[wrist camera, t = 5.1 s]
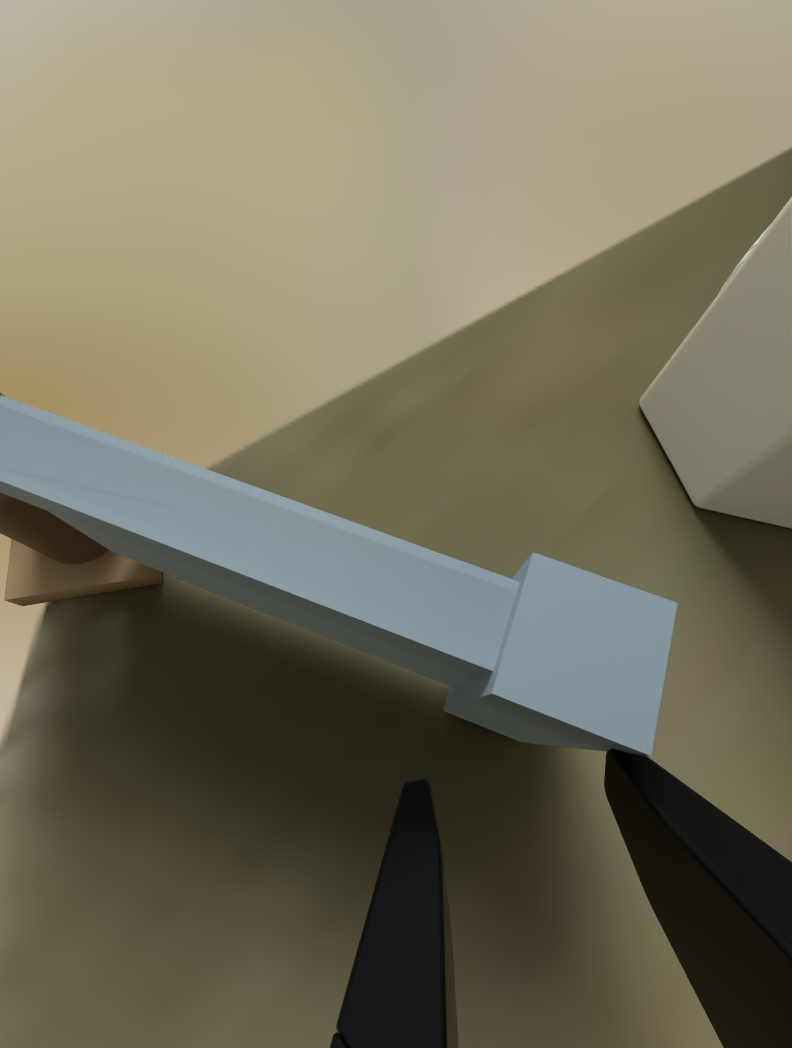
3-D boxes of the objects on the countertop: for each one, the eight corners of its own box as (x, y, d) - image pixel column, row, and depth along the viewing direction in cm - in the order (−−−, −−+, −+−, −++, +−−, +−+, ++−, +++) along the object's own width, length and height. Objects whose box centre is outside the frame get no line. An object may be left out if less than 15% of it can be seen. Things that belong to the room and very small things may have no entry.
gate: (125, 582, 16) (-90, 465, 9) (163, 518, 17) (-4, 364, 10) (521, 742, 14) (651, 755, 7) (542, 662, 15) (677, 603, 8)
